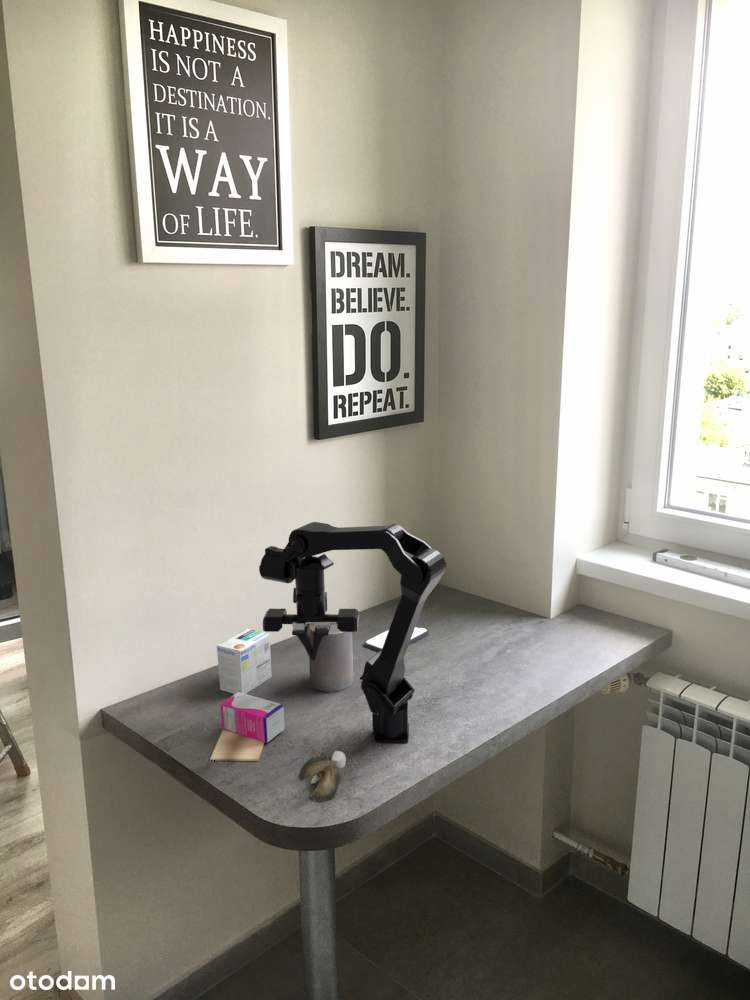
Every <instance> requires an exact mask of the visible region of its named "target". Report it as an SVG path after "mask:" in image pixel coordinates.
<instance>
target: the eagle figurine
mask: <svg viewBox="0 0 750 1000" xmlns="http://www.w3.org/2000/svg"><path fill="white" fill-rule="evenodd" d="M311 751H312V753H313V755H314V756H311V757H310V758H309V759H308V760H306V762H305V763H304V764H302V766H301V768H300V769H299V773H298V775H297V778H298V780H299V781H303V780H306V779H310V778H312V779H311V782H310V785H313V784H316V783H317V782H318V781H319V782H318V784H317V785H316V788H315V789H314V790H313V792H312V793H311V794H310V798H311V800H312V801H314V803H321V802H322V803H323V802H325V801H327V802H328V801H329V800H331V799H332V798H334V796H336V794H337V792H338V791H337V790H338V788H339V784H340V782H341V775H340V773H339V772H338V769H343V768H345V765H346V761H347V757H346V755H345V753H344V752H343V751H340V750H335V751H334V752H332V754H331V755H329V756H328V755H327V754H325V751H324V750H322V751H321V754H319V752H317V751H316V749H315V748H314V747H311Z"/></svg>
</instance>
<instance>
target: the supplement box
mask: <svg viewBox="0 0 750 1000" xmlns="http://www.w3.org/2000/svg"><path fill="white" fill-rule="evenodd" d="M284 707H285V706H284V704H283V703H282V704H281V703H279V702H275V701H272V700H269V699H268V700H267V699H265V698H261V697H257V696H254V695H250V694H248V693H246V694H243V693H240V692H237V693H236V694H232V696H230V697H228V698H227V699H225V700H224V701H223V702H221V703H220V704H219V708H220V716H221V717H220V718H221V729H222V730H223V729H224V730H227V731H231V732H234V733H237V734H240V735H243V736H247V737H250V738H253V739H256V740H259V741H262V742H265V743H266V744H268V743H269V742H271V740H273V739H274V738H275V737H277V735H279V734H281V733H282V732H284V731H285V728H286V727H285V708H284Z"/></svg>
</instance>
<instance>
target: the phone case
mask: <svg viewBox="0 0 750 1000" xmlns="http://www.w3.org/2000/svg"><path fill="white" fill-rule="evenodd" d="M388 631H389V629H387V630H385V631H383V632H381V633H380V634H377V635H375V636H373V637H372V638H369V639H367V640H365V641H364V643H363V647H365V648H367V649H370V650H373V651H375V652H377V653H378V652H380V651H382V648H383V645H384V642H385V640H386V637H387V634H388ZM428 636H429V629H428V628H425V627H422V626H419V625H416V626H415V629H414V632H413V634H412V637H411V640H410V642H409V645H408V647H409V646H411V645H412V644H414V643H417V642H419V641H420V640H422V639H424V638H427V637H428Z"/></svg>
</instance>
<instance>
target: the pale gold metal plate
mask: <svg viewBox="0 0 750 1000" xmlns="http://www.w3.org/2000/svg"><path fill="white" fill-rule="evenodd" d="M265 743H266V742H262V741H259V740H256V739H253V738H250V737H247V736H243V735H240V734H237V733H234V732H231V731H227V730H224V729H222V731H221V734H220V735H219V738H218V740H217V742H216V744H215V746H214V749H213V751H212V753H211V756H210V758H209V760H210V761H211V760H212V761H213V762H214V760H215V762H217V761H219V762H220V761H225V762H230V761H231V762H259V761H260V757H261V754H262V751H263V749H264V746H265ZM212 761H211V762H212Z"/></svg>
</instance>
